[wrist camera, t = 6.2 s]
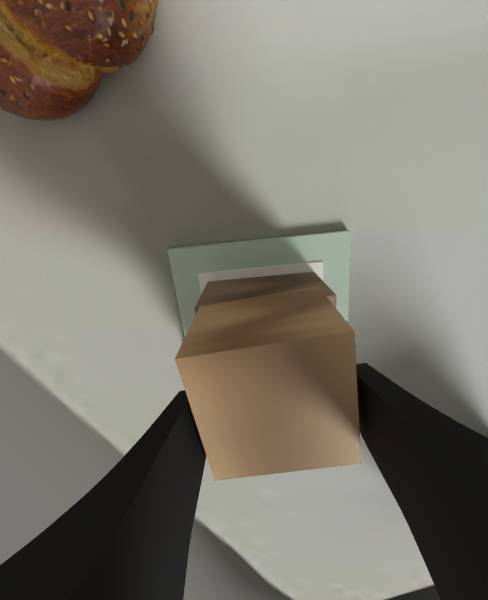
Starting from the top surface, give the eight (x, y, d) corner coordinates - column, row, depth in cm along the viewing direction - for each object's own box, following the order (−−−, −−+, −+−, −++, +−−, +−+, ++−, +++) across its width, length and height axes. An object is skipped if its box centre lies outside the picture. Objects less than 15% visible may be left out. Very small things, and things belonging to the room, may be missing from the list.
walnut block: (314, 271, 15) (336, 295, 11) (315, 362, 17) (334, 409, 13) (207, 281, 15) (194, 308, 11) (221, 370, 17) (214, 417, 13)
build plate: (348, 230, 14) (352, 231, 14) (343, 380, 18) (346, 386, 17) (169, 248, 15) (166, 250, 14) (198, 391, 18) (196, 397, 18)
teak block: (317, 286, 11) (354, 330, 7) (327, 384, 12) (361, 463, 9) (199, 306, 11) (174, 358, 7) (224, 399, 13) (214, 480, 9)
